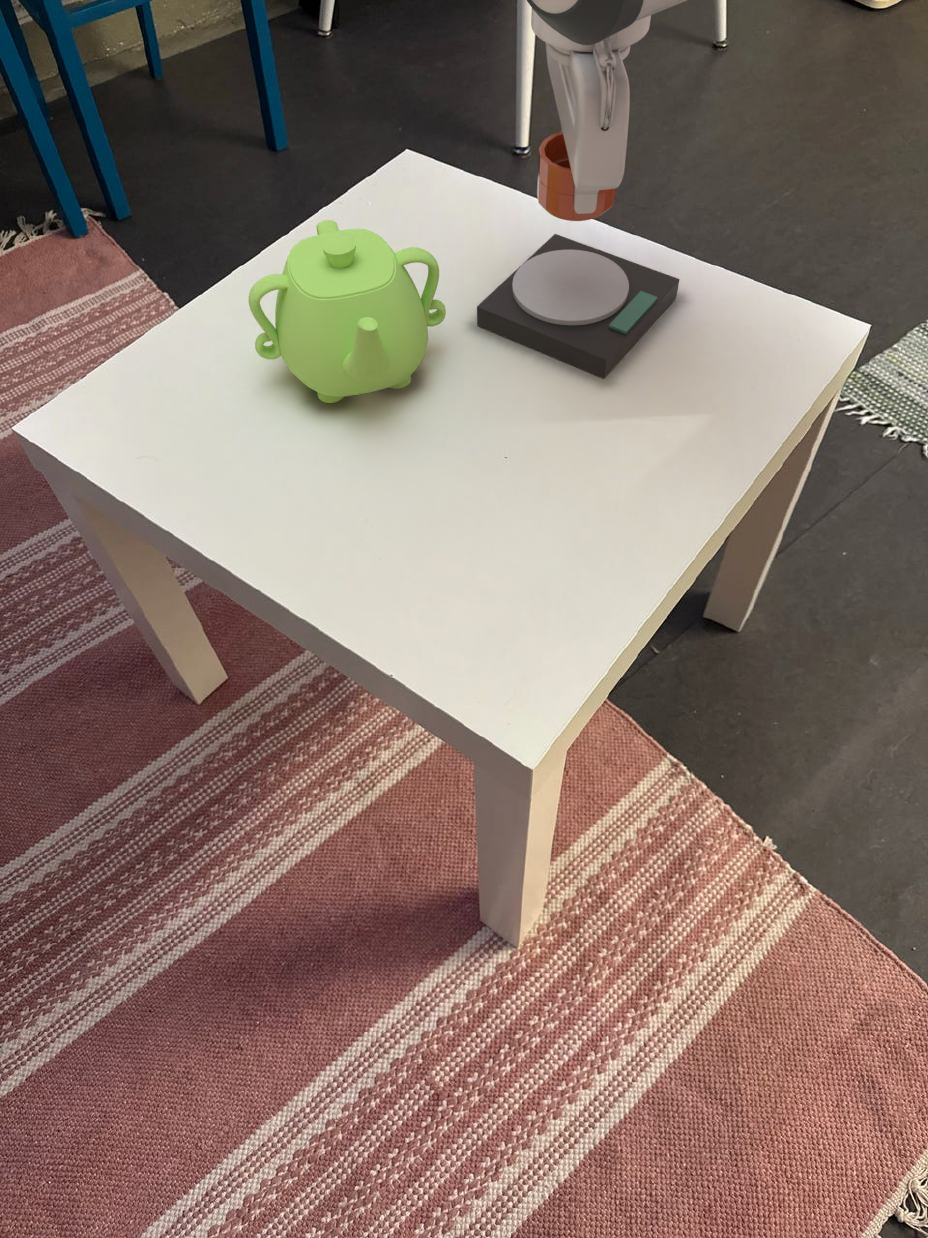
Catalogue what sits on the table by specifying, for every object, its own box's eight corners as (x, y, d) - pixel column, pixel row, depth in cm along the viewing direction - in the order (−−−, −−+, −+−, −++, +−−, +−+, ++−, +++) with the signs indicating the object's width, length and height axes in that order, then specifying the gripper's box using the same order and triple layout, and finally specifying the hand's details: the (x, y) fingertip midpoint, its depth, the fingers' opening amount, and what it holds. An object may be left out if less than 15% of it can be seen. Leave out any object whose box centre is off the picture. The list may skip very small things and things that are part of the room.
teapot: (478, 357, 85) (477, 232, 75) (385, 447, 79) (370, 325, 69) (344, 298, 91) (325, 175, 81) (247, 378, 84) (213, 255, 74)
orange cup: (608, 178, 82) (614, 126, 78) (619, 221, 78) (626, 169, 74) (533, 183, 82) (535, 131, 78) (541, 226, 78) (543, 173, 74)
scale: (676, 298, 89) (680, 273, 87) (604, 379, 83) (607, 354, 81) (553, 252, 94) (555, 227, 92) (476, 325, 88) (476, 300, 86)
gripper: (660, 65, 61) (633, 251, 73) (614, -58, 73) (597, 119, 84) (566, 70, 61) (554, 255, 73) (535, -53, 73) (529, 123, 84)
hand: (577, 181), depth 78 cm, fingers closed on orange cup, 7 cm apart
